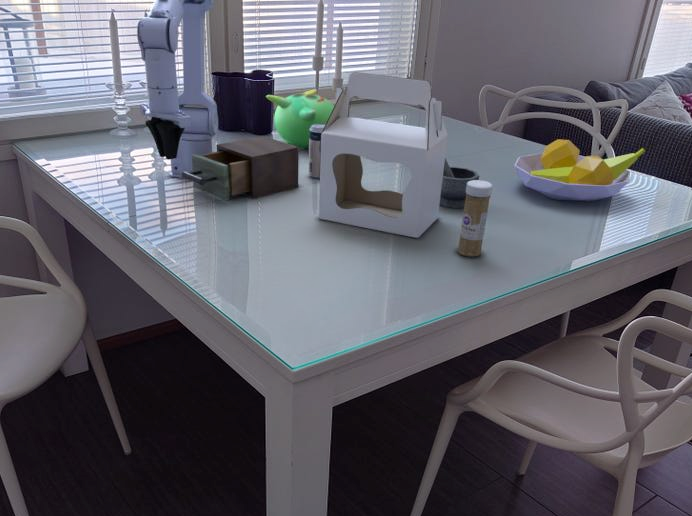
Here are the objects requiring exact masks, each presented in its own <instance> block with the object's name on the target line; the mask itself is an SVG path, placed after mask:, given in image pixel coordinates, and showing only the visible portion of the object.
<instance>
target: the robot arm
mask: <svg viewBox="0 0 692 516" xmlns="http://www.w3.org/2000/svg"><path fill="white" fill-rule="evenodd" d="M213 4H214V0H154V1H153V4H152V6H151V8H150V10H149V12H148V15H147V16H144V17H142V18H141V19H139V20H138V22H137V26H136V27H137V28H136V30H137V31H136V34H137V35H136V37H137V43H138V47H139V49H140V57H141V60H142V61H143V62H144V70H145V80H146V81H145V82H146V89H147V91H146V92H147V101H148V102H147V103H140V104H139V107H140V109H139V111H140V115H143V116H144V117H148V118H150V119H149V120H148V119H147V120H145V126H146V127H147V129H148V130H149V132H150V134H151V136H152V138H153V140H154V143H155V145H156V148H157V151H158V154H159V157H161V158H164V157H165V159H166V160H168V161H169V160H170V170H171V173H170V177H174V178H181V179H184V178H183V177H182V173H183V172H184V171H186V172H188V173H190V172H193V168H192V154H198V155H201V156H203V154H207V153H212V152H213V138H214V137H215V136H216V135H217V134H218V130H219V115H218V105H217V102H216V101H215V99H213V97H211V96H209V94H207V93H206V92H205V19H206V12H208V11H210V10H212V9H213ZM181 22H182V23H181ZM180 24H182V26H181V27H182V84H183V87H182V88H183V91H182V92H181V93H180V94H179V90H178V75H177V66H176V65H177V64H176V51H177V50H178V47H179V35H180V31H179V28H180ZM195 106H197V107H195ZM198 106H203V107H198Z"/></svg>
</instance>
